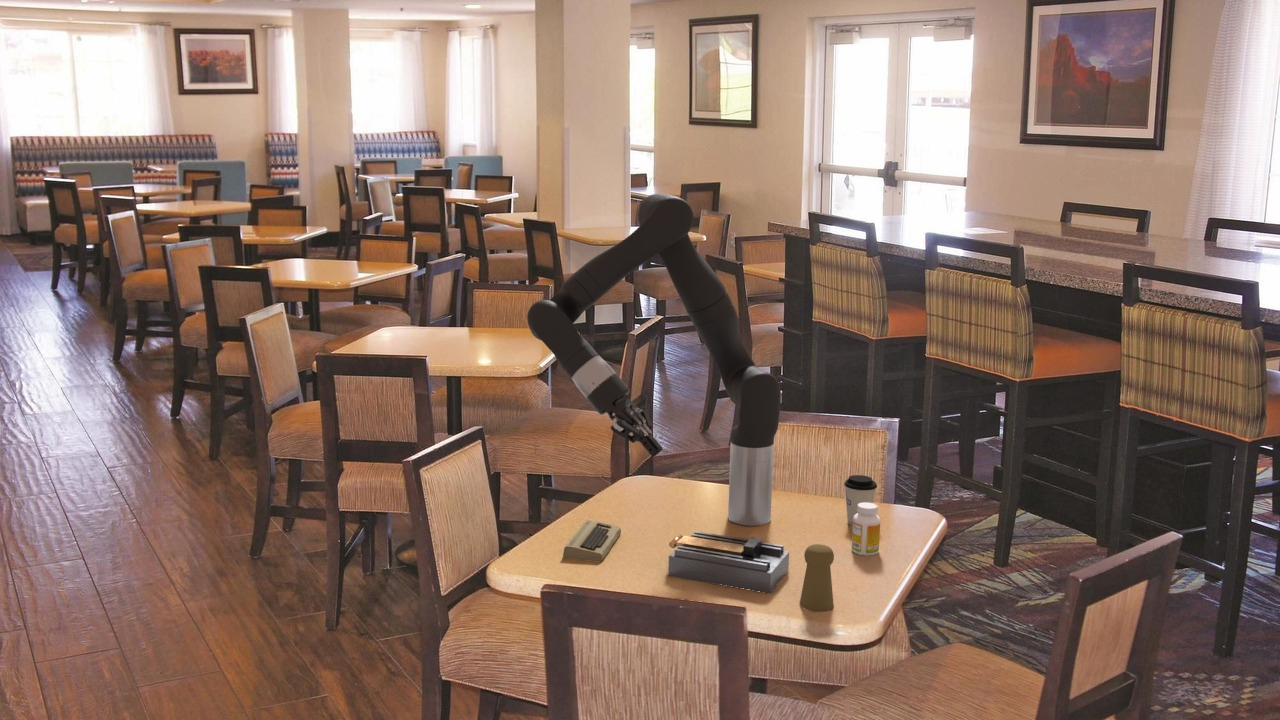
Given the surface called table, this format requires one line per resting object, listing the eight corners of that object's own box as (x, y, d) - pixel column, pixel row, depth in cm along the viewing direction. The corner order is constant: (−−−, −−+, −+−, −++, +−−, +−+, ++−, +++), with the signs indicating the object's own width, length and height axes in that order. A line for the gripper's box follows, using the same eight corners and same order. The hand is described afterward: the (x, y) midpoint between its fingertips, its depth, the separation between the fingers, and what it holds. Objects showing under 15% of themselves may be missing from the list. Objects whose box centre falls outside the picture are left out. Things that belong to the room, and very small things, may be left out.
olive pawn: (796, 598, 212) (799, 540, 210) (829, 597, 213) (832, 540, 211) (803, 612, 206) (806, 553, 204) (837, 611, 207) (840, 552, 205)
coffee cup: (878, 520, 254) (881, 476, 252) (870, 530, 248) (873, 485, 246) (846, 515, 257) (849, 471, 255) (838, 525, 251) (840, 480, 249)
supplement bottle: (880, 548, 238) (883, 502, 236) (876, 557, 233) (879, 511, 231) (853, 545, 239) (856, 499, 237) (849, 554, 234) (852, 507, 232)
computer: (602, 564, 228) (602, 548, 227) (562, 560, 230) (562, 544, 229) (621, 536, 243) (621, 521, 242) (583, 533, 245) (583, 518, 244)
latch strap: (676, 540, 229) (677, 534, 228) (747, 552, 223) (748, 545, 223) (669, 547, 225) (669, 540, 225) (741, 559, 219) (741, 551, 219)
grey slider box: (690, 554, 233) (691, 521, 231) (788, 571, 225) (789, 536, 223) (668, 575, 222) (669, 540, 220) (769, 593, 214) (771, 557, 213)
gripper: (598, 379, 219) (658, 450, 217) (626, 365, 231) (683, 433, 229) (572, 404, 222) (631, 474, 220) (602, 389, 234) (658, 455, 232)
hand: (658, 453), depth 224 cm, fingers closed
